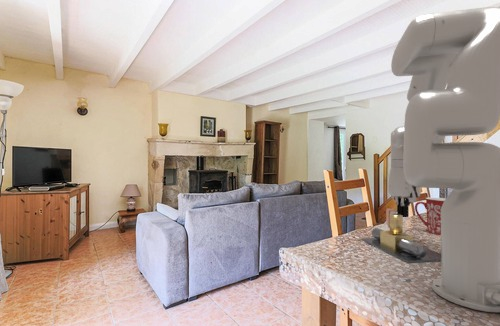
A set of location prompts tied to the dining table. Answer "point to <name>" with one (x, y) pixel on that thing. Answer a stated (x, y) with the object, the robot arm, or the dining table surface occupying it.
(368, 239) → the valve
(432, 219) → the mug
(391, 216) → the lever
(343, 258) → the dining table surface
